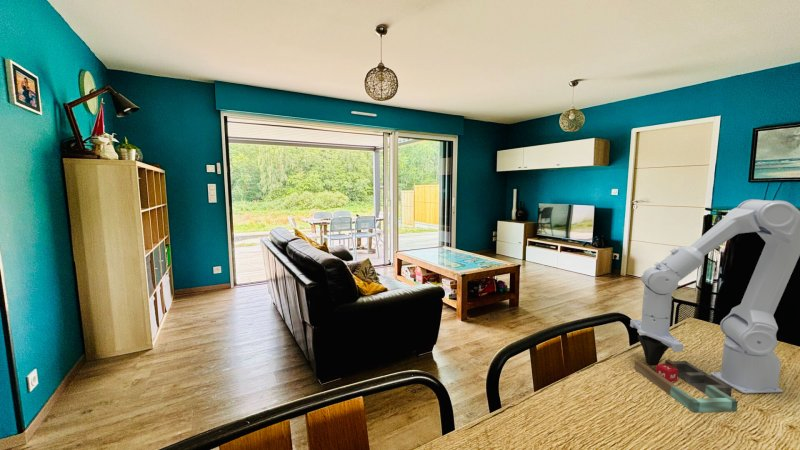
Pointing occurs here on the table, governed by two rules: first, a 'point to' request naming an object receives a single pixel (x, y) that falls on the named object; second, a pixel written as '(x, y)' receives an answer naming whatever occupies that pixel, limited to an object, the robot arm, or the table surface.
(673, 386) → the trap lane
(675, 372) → the red letter block
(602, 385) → the table surface
